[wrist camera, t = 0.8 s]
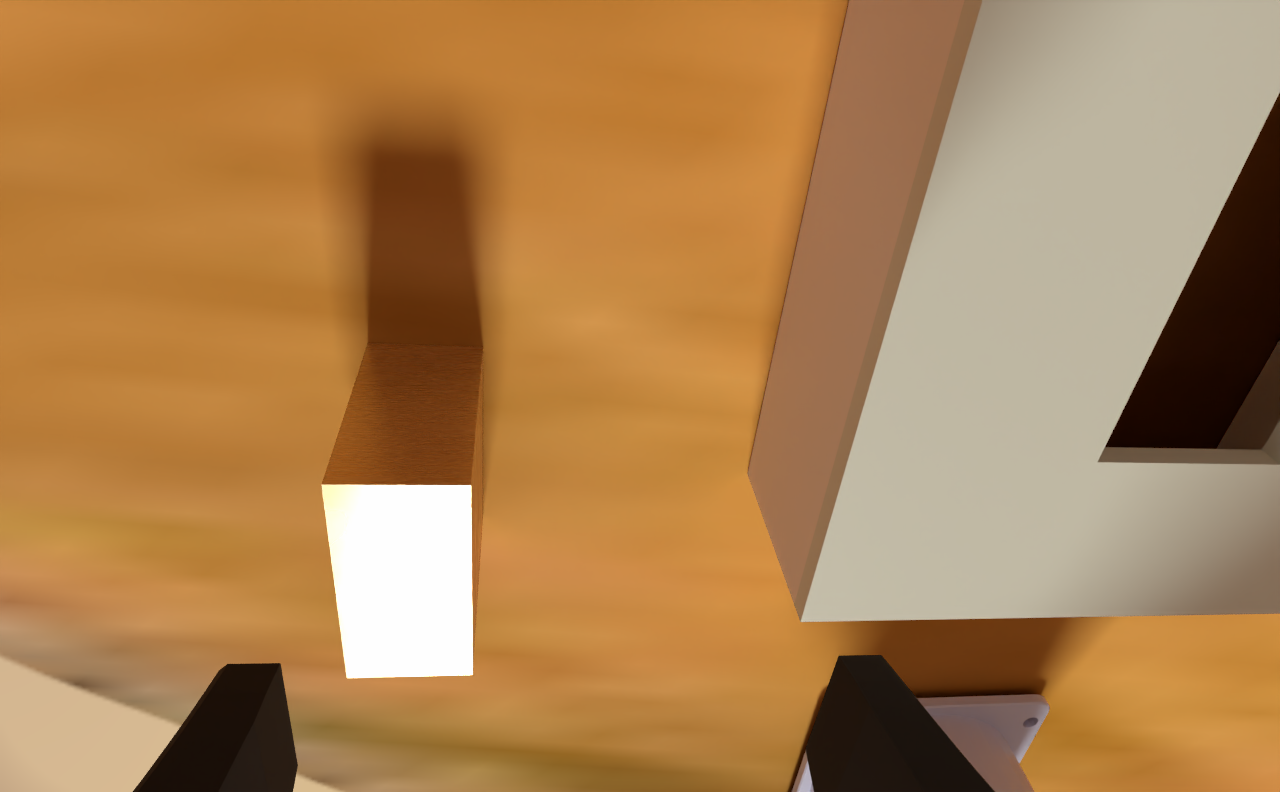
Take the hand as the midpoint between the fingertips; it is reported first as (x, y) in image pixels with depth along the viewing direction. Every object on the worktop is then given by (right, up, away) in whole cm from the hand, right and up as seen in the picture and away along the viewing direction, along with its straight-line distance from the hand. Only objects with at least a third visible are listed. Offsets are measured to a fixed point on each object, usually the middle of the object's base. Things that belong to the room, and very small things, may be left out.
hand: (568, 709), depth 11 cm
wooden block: (-4, +3, +9) cm, 10 cm away
